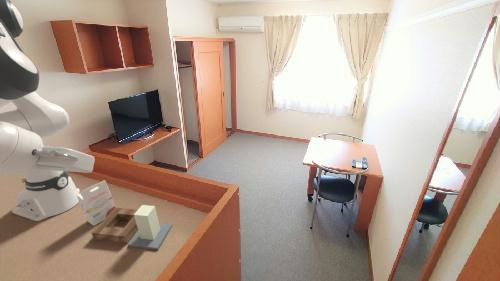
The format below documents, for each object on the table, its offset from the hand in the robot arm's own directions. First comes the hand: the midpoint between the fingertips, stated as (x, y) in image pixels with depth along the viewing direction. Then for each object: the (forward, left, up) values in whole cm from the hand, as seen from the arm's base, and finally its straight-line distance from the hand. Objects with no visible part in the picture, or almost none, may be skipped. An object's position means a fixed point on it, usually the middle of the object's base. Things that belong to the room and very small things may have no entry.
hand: (73, 167), depth 57 cm
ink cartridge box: (-14, +15, -32) cm, 38 cm away
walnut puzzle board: (-3, +11, -31) cm, 33 cm away
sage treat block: (+9, +9, -31) cm, 33 cm away
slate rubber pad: (+9, +9, -31) cm, 34 cm away
